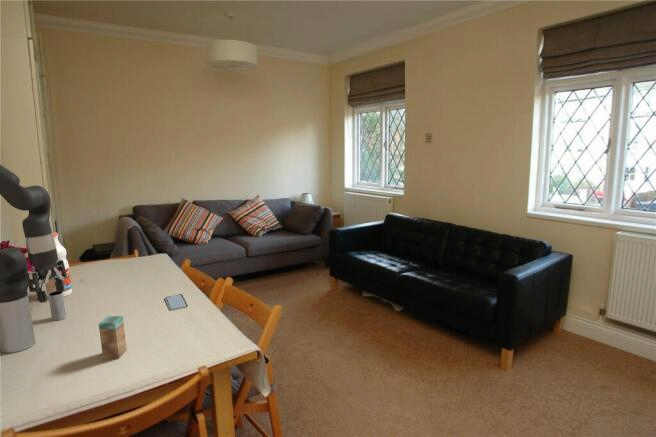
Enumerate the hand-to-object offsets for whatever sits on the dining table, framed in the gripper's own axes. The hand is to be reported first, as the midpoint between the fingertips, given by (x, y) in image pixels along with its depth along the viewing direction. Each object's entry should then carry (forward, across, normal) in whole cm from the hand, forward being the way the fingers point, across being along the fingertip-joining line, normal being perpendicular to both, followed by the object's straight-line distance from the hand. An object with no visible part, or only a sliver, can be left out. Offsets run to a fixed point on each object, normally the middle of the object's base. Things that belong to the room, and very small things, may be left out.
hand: (52, 296), depth 130 cm
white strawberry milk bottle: (+16, -44, -30) cm, 56 cm away
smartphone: (+20, -35, +25) cm, 47 cm away
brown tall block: (+19, +6, +20) cm, 28 cm away
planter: (+17, -21, -15) cm, 30 cm away
